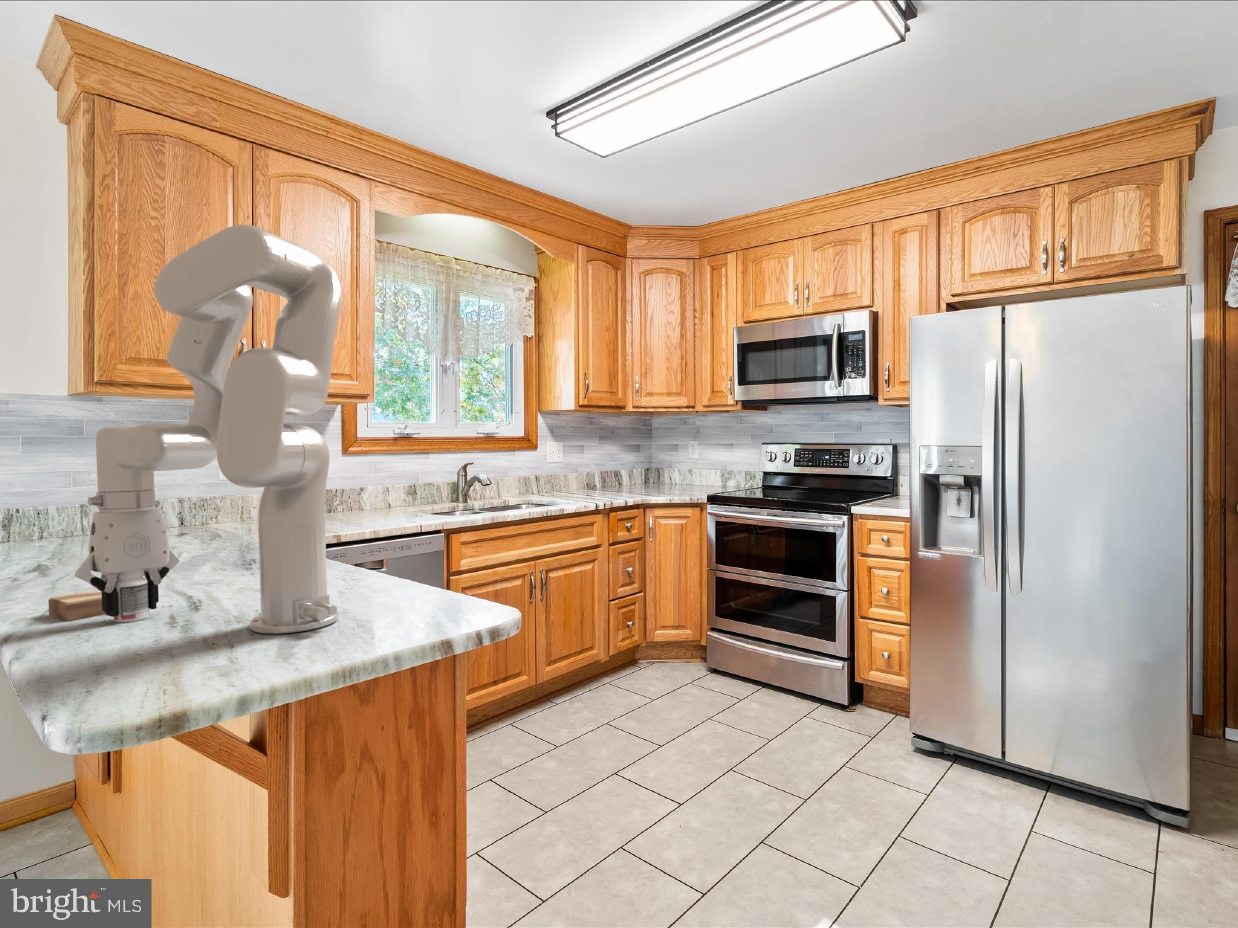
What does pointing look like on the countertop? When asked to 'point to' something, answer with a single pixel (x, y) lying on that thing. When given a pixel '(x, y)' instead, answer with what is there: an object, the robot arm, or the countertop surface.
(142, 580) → the pill bottle
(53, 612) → the walnut stand
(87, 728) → the countertop surface
